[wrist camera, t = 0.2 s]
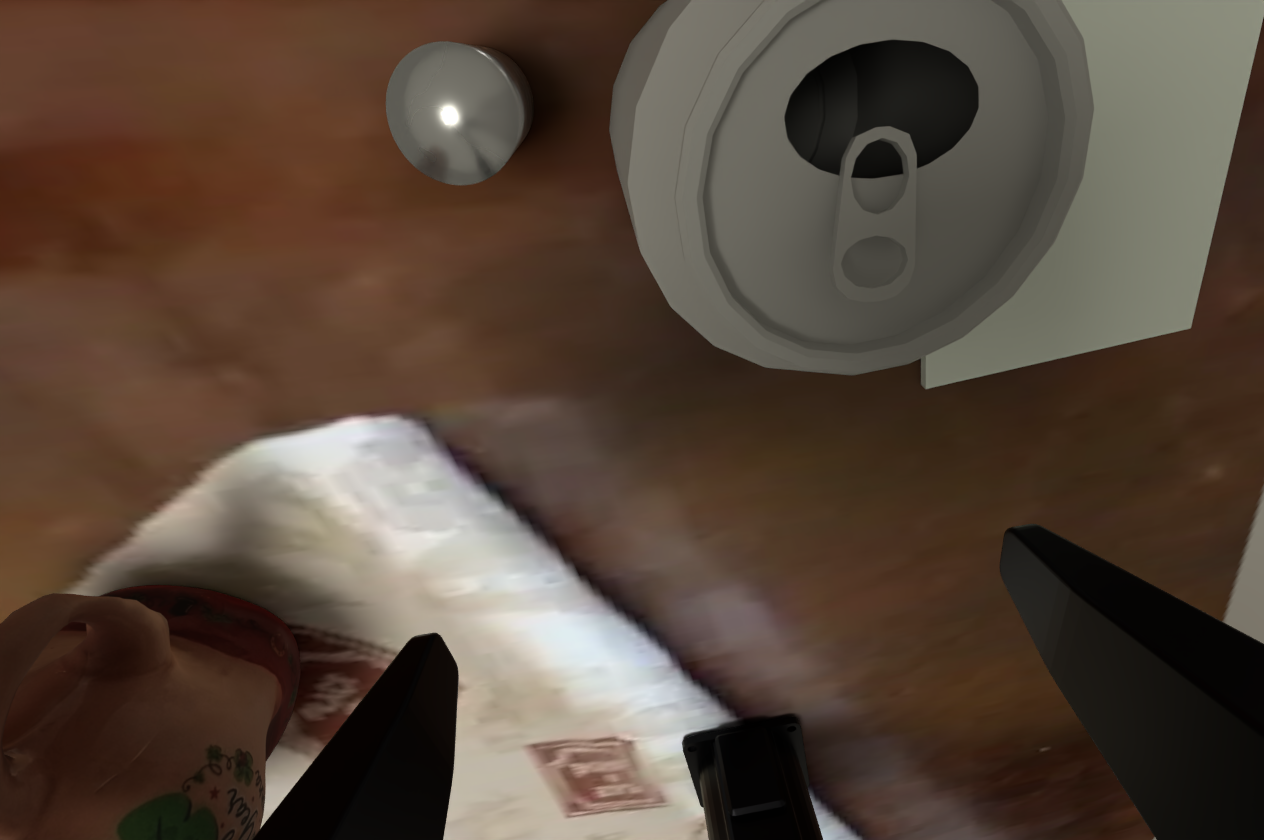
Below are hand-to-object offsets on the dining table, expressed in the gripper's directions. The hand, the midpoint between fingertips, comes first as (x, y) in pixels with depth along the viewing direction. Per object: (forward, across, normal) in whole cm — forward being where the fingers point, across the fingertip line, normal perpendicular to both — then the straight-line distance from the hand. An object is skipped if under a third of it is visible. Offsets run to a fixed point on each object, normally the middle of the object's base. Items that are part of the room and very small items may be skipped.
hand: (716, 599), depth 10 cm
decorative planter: (+13, +23, +11) cm, 29 cm away
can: (+15, -3, -4) cm, 16 cm away
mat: (+15, -14, 0) cm, 21 cm away
